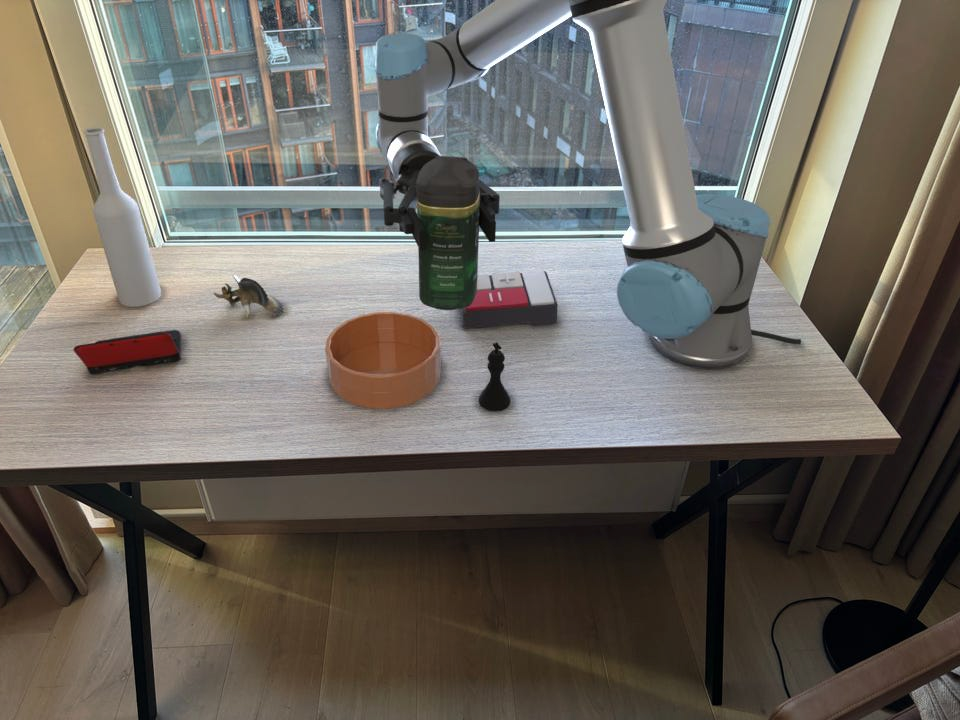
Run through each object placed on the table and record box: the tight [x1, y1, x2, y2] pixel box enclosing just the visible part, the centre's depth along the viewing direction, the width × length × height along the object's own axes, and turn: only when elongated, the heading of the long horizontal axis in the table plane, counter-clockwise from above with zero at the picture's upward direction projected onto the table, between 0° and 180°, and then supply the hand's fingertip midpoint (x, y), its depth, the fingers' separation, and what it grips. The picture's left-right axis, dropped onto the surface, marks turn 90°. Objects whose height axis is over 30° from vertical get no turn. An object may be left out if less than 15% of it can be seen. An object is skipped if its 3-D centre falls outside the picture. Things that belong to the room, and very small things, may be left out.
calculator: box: [460, 270, 558, 329], centre depth 125 cm, size 11×4×15 cm
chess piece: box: [478, 342, 511, 412], centre depth 104 cm, size 4×4×10 cm
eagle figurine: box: [213, 274, 285, 319], centre depth 123 cm, size 8×7×9 cm
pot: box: [324, 311, 442, 410], centre depth 110 cm, size 16×16×6 cm
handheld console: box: [73, 329, 182, 375], centre depth 111 cm, size 12×11×7 cm
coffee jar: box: [416, 155, 480, 311], centre depth 100 cm, size 10×8×19 cm
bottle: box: [83, 126, 162, 308], centre depth 119 cm, size 7×7×28 cm
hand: (458, 236), depth 95 cm, fingers closed on coffee jar, 8 cm apart
